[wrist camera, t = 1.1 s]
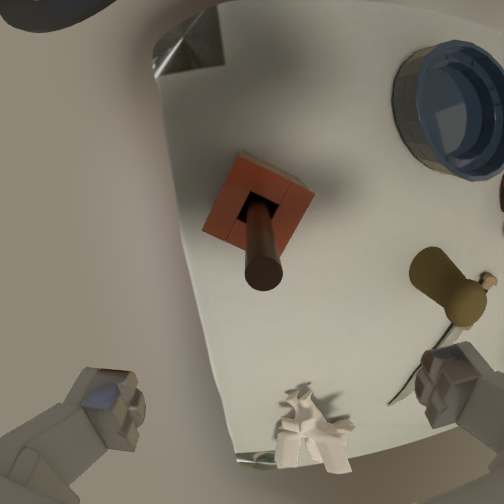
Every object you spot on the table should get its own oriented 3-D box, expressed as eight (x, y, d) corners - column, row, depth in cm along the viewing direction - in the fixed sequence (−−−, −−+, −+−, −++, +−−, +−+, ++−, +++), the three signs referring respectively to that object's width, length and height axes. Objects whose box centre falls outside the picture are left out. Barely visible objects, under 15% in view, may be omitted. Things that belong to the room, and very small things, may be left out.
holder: (211, 208, 35) (201, 230, 27) (240, 149, 32) (238, 154, 25) (270, 235, 36) (275, 265, 28) (300, 179, 33) (315, 194, 26)
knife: (402, 410, 46) (384, 409, 45) (399, 404, 48) (380, 402, 46) (504, 284, 37) (491, 274, 36) (498, 279, 39) (485, 269, 37)
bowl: (369, 126, 31) (392, 126, 26) (419, 25, 26) (445, 13, 21) (461, 195, 34) (489, 206, 28) (502, 101, 29) (531, 102, 23)
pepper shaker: (418, 242, 36) (466, 281, 26) (453, 251, 37) (502, 288, 26) (402, 286, 38) (442, 334, 28) (437, 292, 39) (479, 336, 28)
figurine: (288, 373, 52) (317, 434, 52) (243, 411, 44) (279, 475, 44) (364, 364, 42) (390, 434, 41) (323, 415, 34) (357, 487, 33)
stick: (244, 197, 34) (238, 282, 15) (252, 182, 34) (255, 250, 15) (259, 204, 34) (271, 297, 16) (267, 189, 34) (289, 266, 15)
